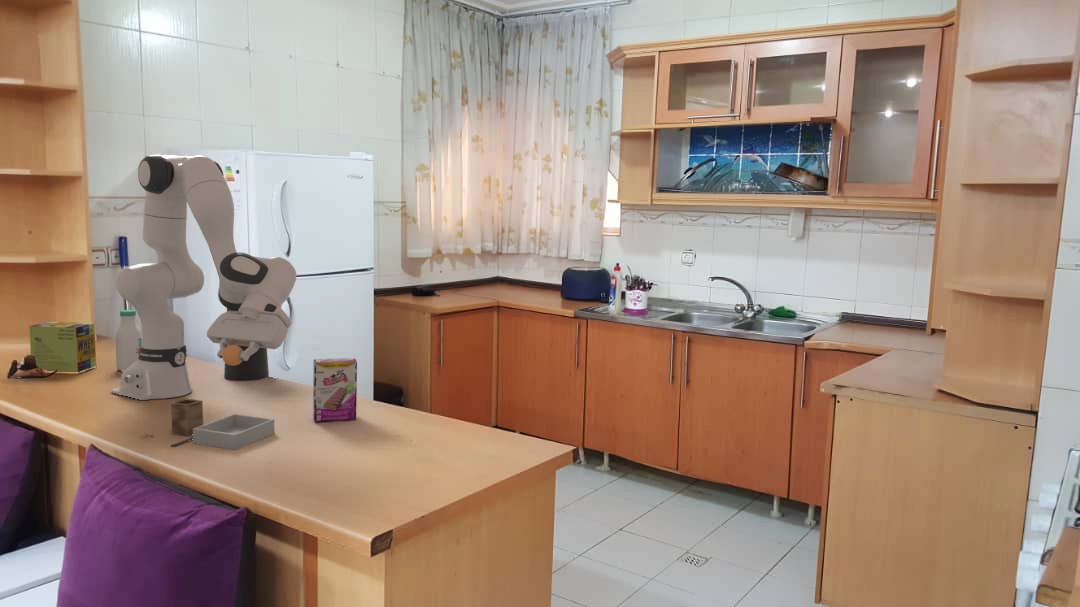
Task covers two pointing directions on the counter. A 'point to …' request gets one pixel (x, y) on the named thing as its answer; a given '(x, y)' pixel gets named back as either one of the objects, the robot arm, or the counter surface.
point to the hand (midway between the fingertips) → (231, 358)
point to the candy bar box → (334, 389)
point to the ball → (232, 355)
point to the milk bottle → (127, 340)
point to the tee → (186, 416)
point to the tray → (233, 431)
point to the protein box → (63, 346)
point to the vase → (249, 367)
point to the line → (182, 442)
